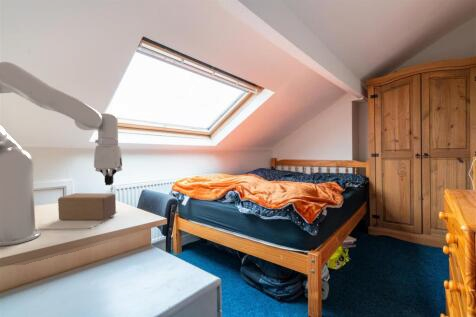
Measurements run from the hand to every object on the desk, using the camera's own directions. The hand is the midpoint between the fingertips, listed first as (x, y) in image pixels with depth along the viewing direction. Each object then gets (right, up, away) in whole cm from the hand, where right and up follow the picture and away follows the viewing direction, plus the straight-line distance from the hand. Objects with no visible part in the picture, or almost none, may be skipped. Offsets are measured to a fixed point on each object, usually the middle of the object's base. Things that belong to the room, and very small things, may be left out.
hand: (109, 184), depth 100 cm
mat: (-12, -16, 0) cm, 20 cm away
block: (0, -10, +1) cm, 10 cm away
